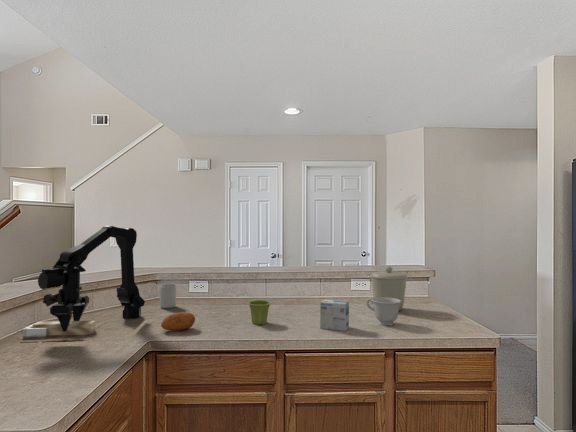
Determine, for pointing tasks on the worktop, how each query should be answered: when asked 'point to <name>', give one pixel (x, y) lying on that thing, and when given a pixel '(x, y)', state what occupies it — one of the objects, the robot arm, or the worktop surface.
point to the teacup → (385, 309)
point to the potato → (178, 321)
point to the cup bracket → (34, 332)
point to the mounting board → (60, 336)
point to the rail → (73, 327)
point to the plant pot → (259, 311)
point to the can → (168, 295)
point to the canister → (389, 284)
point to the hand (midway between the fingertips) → (70, 327)
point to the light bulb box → (334, 314)
